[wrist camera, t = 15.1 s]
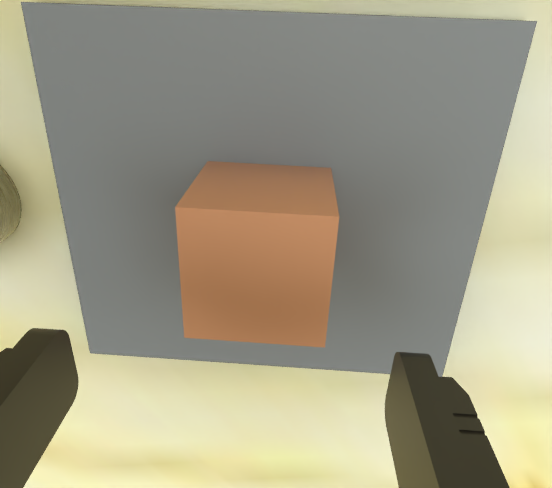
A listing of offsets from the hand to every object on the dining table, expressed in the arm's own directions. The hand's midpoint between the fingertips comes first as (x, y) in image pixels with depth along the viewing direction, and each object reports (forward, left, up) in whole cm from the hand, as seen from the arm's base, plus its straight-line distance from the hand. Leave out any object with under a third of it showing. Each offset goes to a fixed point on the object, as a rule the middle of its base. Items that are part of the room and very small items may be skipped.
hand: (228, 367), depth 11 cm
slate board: (0, 0, -10) cm, 10 cm away
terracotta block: (0, 0, -9) cm, 9 cm away
